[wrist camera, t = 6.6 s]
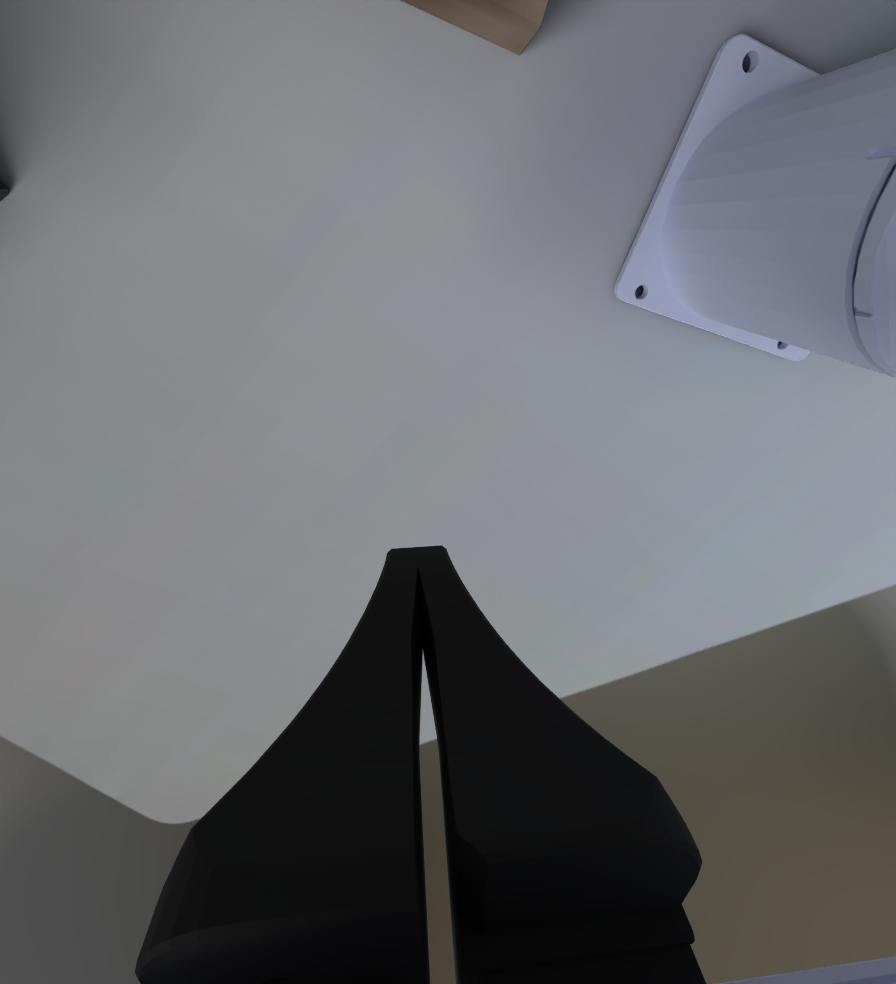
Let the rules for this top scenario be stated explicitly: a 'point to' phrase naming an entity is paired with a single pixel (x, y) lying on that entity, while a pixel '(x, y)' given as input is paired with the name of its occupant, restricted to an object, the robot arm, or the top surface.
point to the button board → (491, 18)
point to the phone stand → (3, 191)
